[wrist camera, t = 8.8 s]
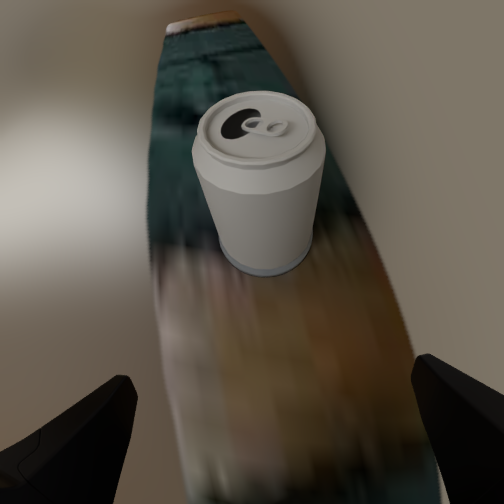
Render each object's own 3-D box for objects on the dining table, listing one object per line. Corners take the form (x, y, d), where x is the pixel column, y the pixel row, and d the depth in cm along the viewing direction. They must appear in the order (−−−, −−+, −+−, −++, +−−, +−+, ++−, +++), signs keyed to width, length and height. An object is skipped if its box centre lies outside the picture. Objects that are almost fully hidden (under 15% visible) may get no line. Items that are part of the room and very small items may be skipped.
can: (250, 184, 27) (235, 73, 16) (324, 217, 25) (348, 104, 14) (204, 248, 25) (155, 144, 14) (283, 290, 22) (289, 196, 12)
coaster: (318, 273, 24) (319, 269, 23) (220, 280, 24) (218, 277, 23) (305, 193, 27) (305, 188, 26) (220, 200, 27) (219, 196, 27)
